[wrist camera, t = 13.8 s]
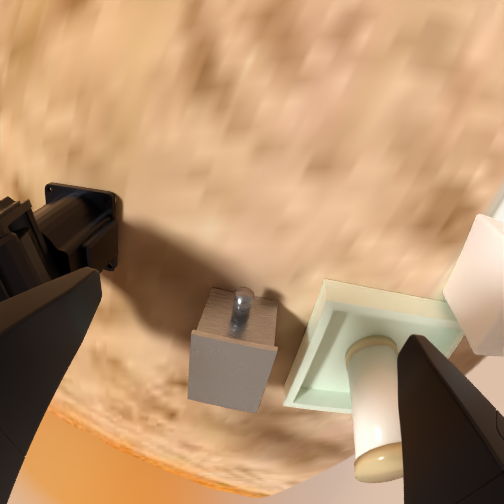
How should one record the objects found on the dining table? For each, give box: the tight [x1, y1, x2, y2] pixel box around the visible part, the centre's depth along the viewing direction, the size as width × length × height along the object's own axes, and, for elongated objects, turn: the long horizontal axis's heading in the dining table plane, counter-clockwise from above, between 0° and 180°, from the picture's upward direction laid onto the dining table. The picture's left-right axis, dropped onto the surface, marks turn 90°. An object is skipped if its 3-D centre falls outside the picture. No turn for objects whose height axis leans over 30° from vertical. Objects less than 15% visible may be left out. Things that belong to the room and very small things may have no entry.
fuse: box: [345, 335, 403, 483], centre depth 21 cm, size 5×5×11 cm
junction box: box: [188, 287, 278, 413], centre depth 23 cm, size 5×9×5 cm, turn 170°
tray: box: [283, 279, 464, 414], centre depth 25 cm, size 12×12×2 cm
